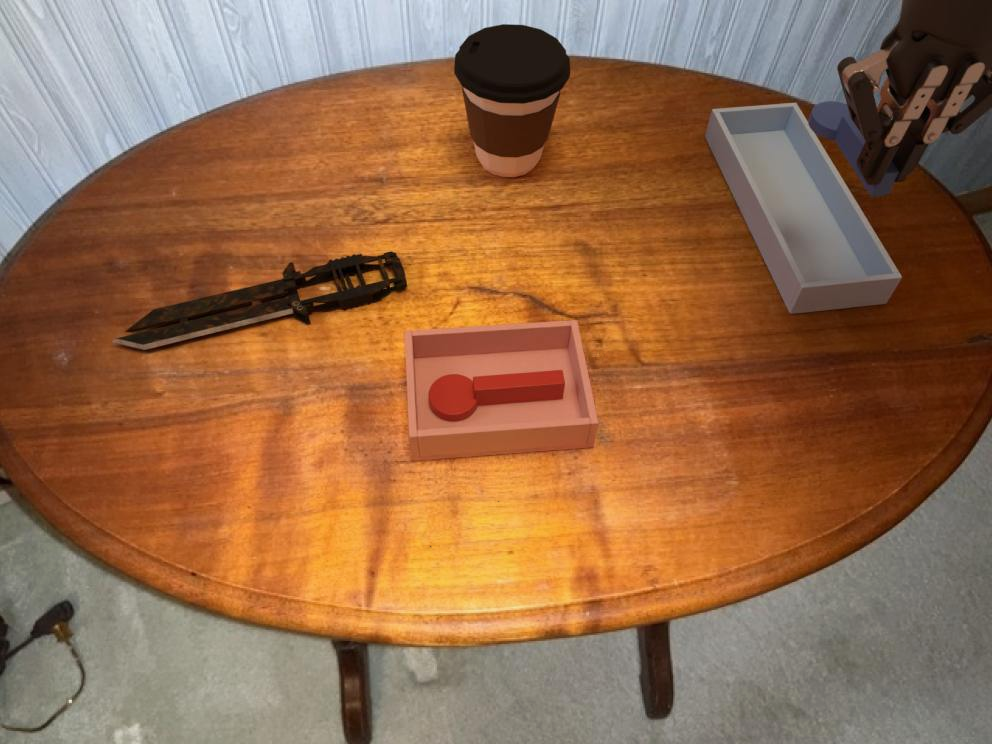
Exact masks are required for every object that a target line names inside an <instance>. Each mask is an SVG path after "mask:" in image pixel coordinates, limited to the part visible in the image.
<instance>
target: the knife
mask: <svg viewBox="0 0 992 744" xmlns="http://www.w3.org/2000/svg"><path fill="white" fill-rule="evenodd" d="M383 260H384V261H383ZM373 262H378V264H377V263H373ZM388 267H391V269H392V271H393V272H392V273H393V274H394V277H392V278H390V277H389V275H388V272H387V269H386V268H388ZM375 270H379V273H380V276H381V278H382V280H380V281H375V282H372V283H367V284H366V281H365V278H364V275H363V273H367V272H372V271H375ZM281 274H282V277H283V278H280V279H276V280H272V281H268V282H263V283H260V284H255V285H251V286H247V287H243V288H238V289H233V290H230V291H225V292H222V293H217V294H213V295H209V296H205V297H200V298H196V299H192V300H187V301H183V302H179V303H175V304H171V305H166V306H162V307H158V308H153V309H152V310H151V311H149V312H148V313H146V315H144V316H143V317H142V318H140V319H139V320H138V321H136V322H135V323H134V324H132V325H131V326H130V327H129V328H127V329H126V330H124V332H125V333H131V334H129V335H124V336H121V337H116V338H115V339H113V340H112V341H111V343H113V344H117V345H118V344H119V345H121V346H127V347H131V348H135V349H138V350H143V351H145V350H151V349H154V348H157V347H162V346H166V345H170V344H174V343H178V342H183V341H186V340H190V339H194V338H199V337H202V336H207V335H211V334H215V333H219V332H222V331H227V330H230V329H236V328H239V327H243V326H247V325H251V324H255V323H258V322H263V321H267V320H272V319H276V318H280V317H283V316H288V315H291V314H293V316H294V319H296V320H297V321H300V322H301V323H304V324H306V325H310V324H312V323H311V319H310V314H311V313H313V312H330V311H335V310H339V309H341V310H343V311H347V310H348V309H350V310H352V309H354V308H359V307H360V306H361V307H362V306H363V307H364V306H366V305H371V304H372V303H375V302H381V300H382V299H383V298H385V297H387V296H389V295H390V294H391V293H392V292H397V293H398V292H403V291H405V290H406V289H407V288H408V281H407V278H406V272H405V269H404V266H403V263H402V260H401V258H400V257H398V255H397V253H396V252H394V251H386V252H383V254H380V255H363V254H362V253H358V254H356V253H354V254H351V255H346V256H345V257H344V256H341V257H340V258H338V257H336V258H334V259H328V262H327V263H325V264H321V265H316V266H314V267H312V268H310V269H308V270H307V271H305V272H304V273H301V270H297V271H296V268H295V264H294V262H293V261H290V262H289V263H288V264H287V265H286V267H285V268H284V270H283V271H282V272H281ZM355 275H356V276H357V278H358V281H359V285H356V286H354V283H353V282H352V280H351V277H355ZM310 277H311V278H310ZM306 278H309V279H306ZM345 279H346V280H345ZM333 280H334V283H335V285H336V289H337V291H335V292H331V293H327V294H322V295H319V296H314V297H310V298H306V299H301V297H300V295H299V292H298V289H300V288H304V287H308V286H313V285H317V284H321V283H325V282H329V281H333ZM339 280H340V281H339ZM340 282H341V284H340ZM346 282H347V284H348V286H349V288H348V287H347V284H346ZM392 284H393V285H392ZM341 285H342V286H341ZM391 285H392V286H391ZM342 288H343V289H342ZM284 296H285V297H284ZM281 297H282V298H281ZM272 299H273V300H272ZM267 300H269V301H267ZM264 301H265V302H264ZM250 304H251V305H250ZM314 304H316V305H314ZM243 306H244V307H243ZM235 308H236V309H235ZM230 309H231V310H230ZM226 310H228V311H226ZM222 311H224V312H222ZM217 312H220V313H217ZM213 313H215V314H213ZM210 314H212V315H210ZM206 315H207V316H206ZM202 316H203V317H202ZM197 317H199V318H197ZM193 318H195V319H193ZM189 319H191V320H189ZM176 322H179V323H176ZM172 323H174V324H172ZM169 324H170V325H169ZM164 325H165V326H164ZM160 326H162V327H160ZM156 327H157V328H156ZM151 328H152V329H151ZM147 329H149V330H147ZM143 330H146V331H143ZM140 331H141V332H140ZM135 332H137V333H135Z"/></svg>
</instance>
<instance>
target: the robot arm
mask: <svg viewBox="0 0 992 744" xmlns="http://www.w3.org/2000/svg"><path fill="white" fill-rule="evenodd" d="M836 68H837V69H836V70H837V73H838V77H839V80H840V84H841V88H842V92H843V95H844V99H845V102H846V103H845V104H847V106H848V110H849V114H850V117H851V119H852V121H853V122H854V124H855V125H856V127H857V128H858V130H859V131H860V133H861V134H862V136H863V137H864V139H865V140H866V142H865V144H864V146H863V148H862V151H861V153H860V155H859V157H858V159H857V168H858V169H859V171H860V173H861V175H862V176H863V178H864V179H865V181H866V182H867V184H868V185H873V184H880V183H881V181H882V179H883V177H884V175H885V173H886V171H887V169H888V167H889V165H890V163H891V161H892V162H893V164H894V165H895V167H896V168H897V169H898V171H899V174H898V176H897V178H896V180H895V182H894V184H896V183H904V182H905V181H906V180H907V178H908V176H909V175H911V174H912V173H913V172H914V171H915V170H917V169H916V168H917V167H918V166H919V163H920V162H921V160H922V158H923V156H924V154H925V152H926V151H927V149H928V147H929V145H930V144H932V143H935V142H936V141H937V140H939V138H941V135H942V134H945V133H947V132H950V134H952V135H959V134H961V133H963V132H965V130H967V129H968V128H970V126H971V125H973V124H974V123H975V122H976V121H978V120H979V119H980V118H981V117H983V116H984V115H985V114H986V113H987V112H988V111H990V110H991V109H992V0H901V7H900V14H899V19H898V21H897V23H896V25H895V26H894V27H893V28H892V29H891V31H889V33H888V34H887V35H886V36H885V37H884V38H883V40H882V42H881V43H880V47H879V50H877V51H876V52H873V53H872V54H870V55H868V56H867V57H864V58H863V59H861V60H858V61H857V59H855V57H853V56H846V57H844V58H843V59H841V60H840V62H838V64H837V67H836ZM884 72H885V73H886V78H885V80H884V82H883V84H882V86H881V88H880V83H881V82H882V81H881V80H882V79H881V78H882V76H883V74H884ZM879 91H880V94H879V95H880V101H879V102H878V105H877V103H876V98H875V94H877V93H878V92H879ZM972 96H973V97H974V100H973V101H972V102H971V103H970V104H969V105H968V106H966V108H965V109H963V110H962V111H960V110H961V108H962V106H963V104H964V103H965V102H967V100H969V99H970V98H971V97H972Z"/></svg>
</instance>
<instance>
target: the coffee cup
mask: <svg viewBox="0 0 992 744" xmlns="http://www.w3.org/2000/svg"><path fill="white" fill-rule="evenodd" d="M458 48H459V49H458V50H457V52H456V53H455V54H454V65H453V68H454V69H453V74H454V76H455V77H456V79H457V80H458V82H459V84H460V85H461V89H462V90H461V92H462V96H463V102H464V108H465V113H466V118H467V123H468V129H469V135H470V137H471V139H472V142H473V146H474V151H475V156H476V158H477V160H478V162H479V163H480V164H481V167H482V168H484V170H486V171H487V172H489V173H490V174H492V175H494V176H498V177H501V178H516V177H517V178H518V177H520V176H521V177H522V176H525V175H526V174H528V173H530V172H531V171H533V170H534V169H535V167H536V166H537V164H538V163H539V161H540V160H541V158H542V155H543V151H544V149H545V144H546V142H547V141H548V139H549V136H550V133H551V129H552V126H553V122H554V119H555V114H556V111H557V107H558V104H559V100H560V97H561V90H563V89H564V87H565V86H566V84H567V83H568V81H569V80H570V78H571V59H570V57H569V55H568V53H567V50H566V48H565V47H564V46H563V45H562V43H561V42H560V41H559V39H558V38H557V37H555V36H553V35H552V34H550V33H549V32H547V31H545V30H543V29H540V28H536V27H533V26H529V25H525V24H511V23H509V24H507V23H506V24H505V23H502V24H497V25H491V26H487V27H482V28H481V29H480V30H478V31H476V32H474V33H472V34H469V35H468V36H467V37H466V39H465V40H464V41H463V42H462V43H461V44H460V45H459V47H458Z"/></svg>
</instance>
